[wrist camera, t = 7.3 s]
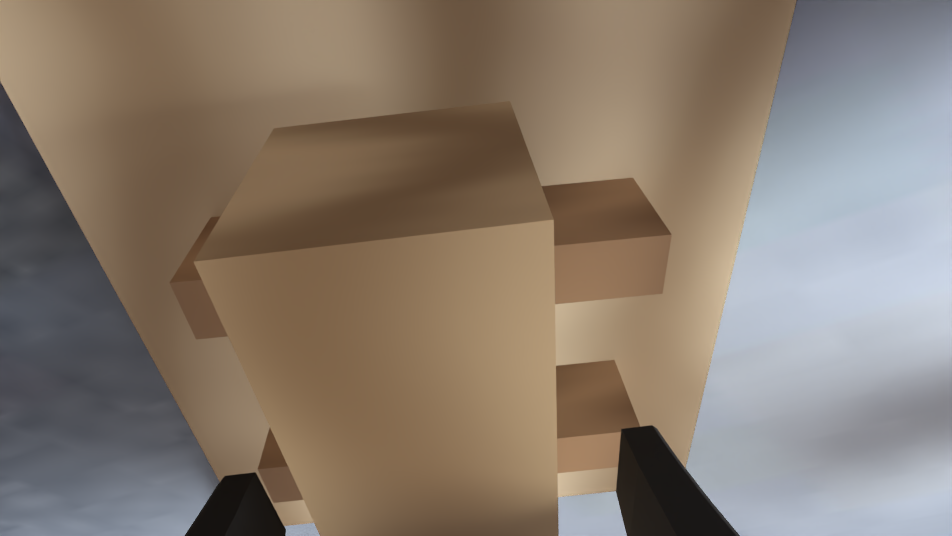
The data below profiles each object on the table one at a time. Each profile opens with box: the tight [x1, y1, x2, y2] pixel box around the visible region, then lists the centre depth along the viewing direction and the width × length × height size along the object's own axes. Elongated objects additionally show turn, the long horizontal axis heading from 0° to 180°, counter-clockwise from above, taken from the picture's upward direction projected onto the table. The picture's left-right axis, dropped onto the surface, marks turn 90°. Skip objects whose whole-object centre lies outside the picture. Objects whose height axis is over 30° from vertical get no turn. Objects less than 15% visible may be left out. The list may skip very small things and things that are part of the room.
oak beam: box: [194, 101, 558, 536], centre depth 11 cm, size 4×12×4 cm, turn 5°
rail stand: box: [0, 0, 797, 526], centre depth 15 cm, size 16×18×3 cm
